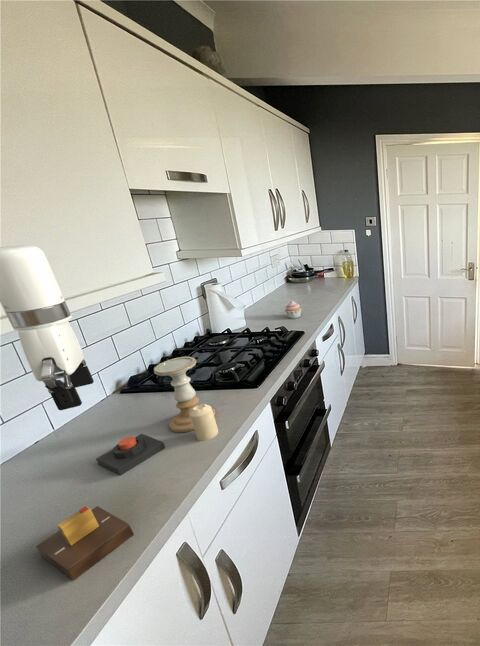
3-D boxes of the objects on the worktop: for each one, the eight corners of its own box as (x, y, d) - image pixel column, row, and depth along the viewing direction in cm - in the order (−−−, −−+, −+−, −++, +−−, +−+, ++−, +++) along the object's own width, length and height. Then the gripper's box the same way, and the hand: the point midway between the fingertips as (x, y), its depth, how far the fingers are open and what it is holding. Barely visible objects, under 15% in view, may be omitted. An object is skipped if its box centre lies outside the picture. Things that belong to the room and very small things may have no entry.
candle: (209, 427, 106) (200, 399, 103) (222, 430, 105) (214, 402, 101) (192, 438, 102) (183, 410, 98) (206, 442, 100) (197, 413, 96)
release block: (120, 476, 89) (115, 463, 87) (98, 465, 93) (93, 453, 91) (165, 448, 98) (161, 436, 97) (144, 439, 102) (139, 428, 100)
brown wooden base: (73, 580, 65) (66, 569, 64) (42, 556, 69) (35, 545, 68) (134, 534, 73) (129, 523, 72) (102, 515, 78) (97, 505, 77)
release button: (124, 451, 92) (122, 446, 91) (117, 448, 93) (114, 443, 93) (140, 443, 95) (137, 438, 94) (132, 440, 96) (130, 434, 96)
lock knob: (71, 546, 68) (60, 526, 66) (67, 543, 68) (56, 524, 67) (99, 526, 72) (89, 507, 70) (95, 523, 72) (85, 505, 70)
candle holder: (182, 411, 115) (163, 357, 107) (222, 407, 116) (206, 353, 109) (161, 435, 103) (139, 376, 96) (206, 430, 105) (187, 371, 98)
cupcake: (286, 315, 202) (283, 299, 199) (303, 313, 205) (300, 297, 202) (285, 321, 194) (282, 304, 191) (302, 318, 197) (300, 302, 193)
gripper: (29, 307, 68) (65, 383, 74) (-13, 335, 54) (35, 425, 61) (80, 300, 72) (110, 372, 78) (53, 324, 58) (92, 410, 64)
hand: (77, 395), depth 69 cm, fingers open, 9 cm apart
